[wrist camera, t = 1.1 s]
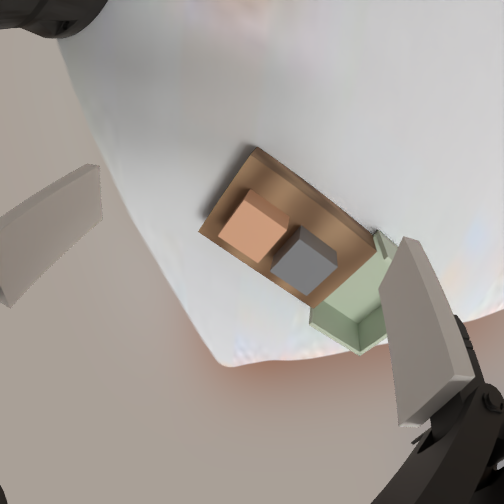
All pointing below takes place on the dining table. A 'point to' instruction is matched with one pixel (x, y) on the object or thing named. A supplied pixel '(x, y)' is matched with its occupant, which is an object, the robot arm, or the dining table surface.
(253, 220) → the peach square block
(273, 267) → the grey square block
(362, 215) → the dining table surface
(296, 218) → the walnut board
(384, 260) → the tray
